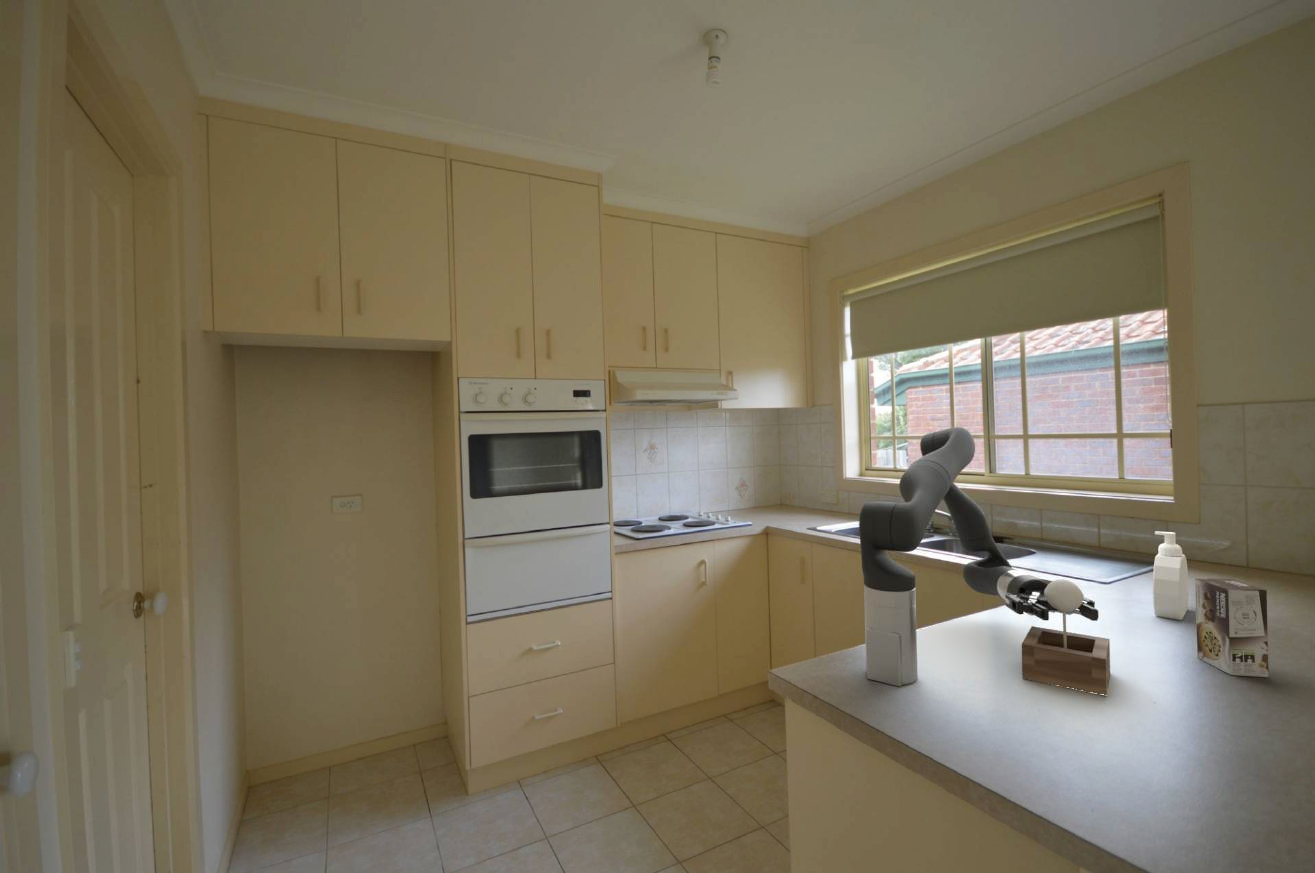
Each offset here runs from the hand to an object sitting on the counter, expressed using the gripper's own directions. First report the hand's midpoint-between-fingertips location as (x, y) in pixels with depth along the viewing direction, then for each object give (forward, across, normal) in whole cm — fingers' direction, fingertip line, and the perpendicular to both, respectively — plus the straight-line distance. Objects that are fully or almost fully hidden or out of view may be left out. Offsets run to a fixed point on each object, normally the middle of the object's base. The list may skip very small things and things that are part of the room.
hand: (1071, 615), depth 108 cm
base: (-2, 0, +12) cm, 12 cm away
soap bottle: (-41, +47, +12) cm, 63 cm away
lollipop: (-2, 0, +9) cm, 9 cm away
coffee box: (-7, +33, +12) cm, 36 cm away
